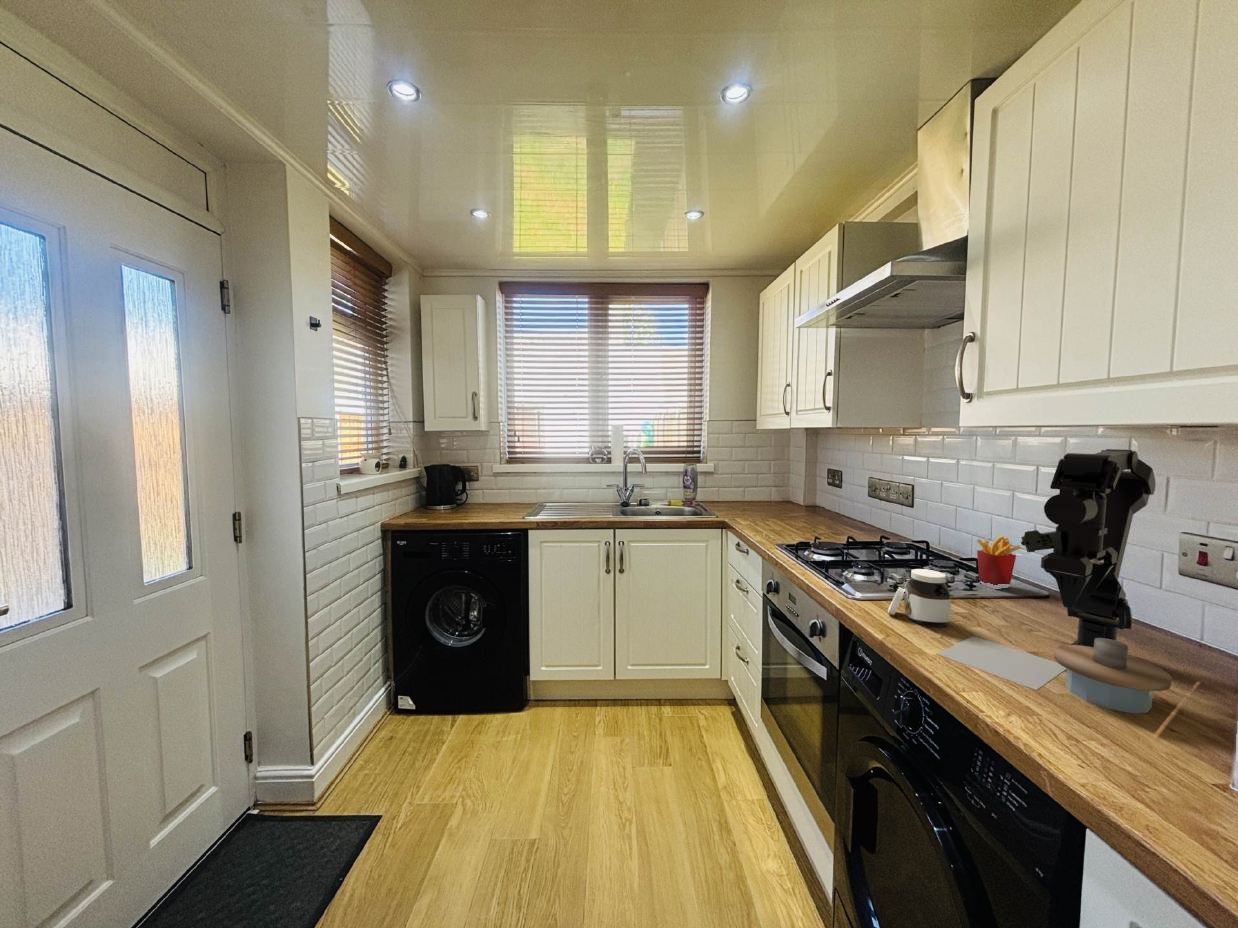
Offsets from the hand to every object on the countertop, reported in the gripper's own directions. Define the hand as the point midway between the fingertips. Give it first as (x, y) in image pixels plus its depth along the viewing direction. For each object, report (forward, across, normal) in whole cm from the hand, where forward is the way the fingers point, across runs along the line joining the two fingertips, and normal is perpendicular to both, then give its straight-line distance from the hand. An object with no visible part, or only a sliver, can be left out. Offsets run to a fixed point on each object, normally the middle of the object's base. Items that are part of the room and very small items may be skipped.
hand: (1076, 603), depth 93 cm
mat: (+12, +9, -8) cm, 17 cm away
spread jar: (+13, +1, -28) cm, 31 cm away
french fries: (+13, -45, -28) cm, 55 cm away
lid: (+8, +9, +7) cm, 14 cm away
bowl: (+12, +9, +7) cm, 17 cm away
